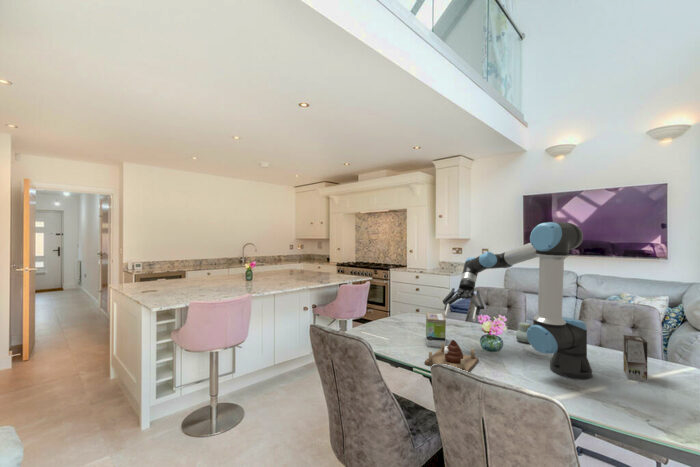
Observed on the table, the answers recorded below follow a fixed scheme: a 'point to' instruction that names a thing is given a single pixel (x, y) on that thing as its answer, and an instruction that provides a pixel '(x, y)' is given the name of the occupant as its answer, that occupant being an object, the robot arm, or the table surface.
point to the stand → (439, 358)
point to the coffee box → (635, 358)
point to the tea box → (435, 329)
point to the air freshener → (522, 332)
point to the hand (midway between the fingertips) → (459, 318)
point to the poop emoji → (453, 352)
